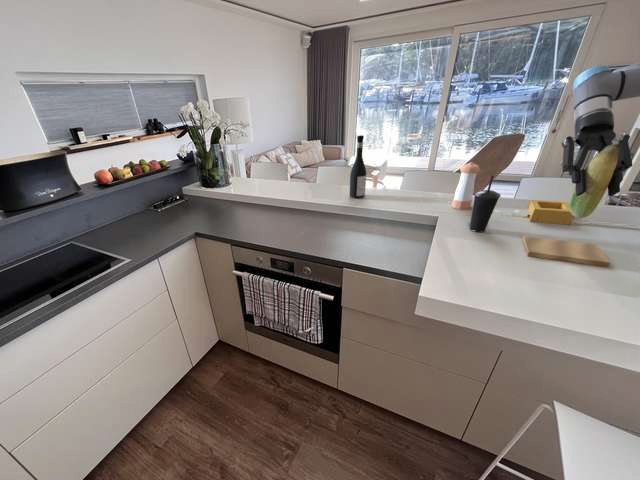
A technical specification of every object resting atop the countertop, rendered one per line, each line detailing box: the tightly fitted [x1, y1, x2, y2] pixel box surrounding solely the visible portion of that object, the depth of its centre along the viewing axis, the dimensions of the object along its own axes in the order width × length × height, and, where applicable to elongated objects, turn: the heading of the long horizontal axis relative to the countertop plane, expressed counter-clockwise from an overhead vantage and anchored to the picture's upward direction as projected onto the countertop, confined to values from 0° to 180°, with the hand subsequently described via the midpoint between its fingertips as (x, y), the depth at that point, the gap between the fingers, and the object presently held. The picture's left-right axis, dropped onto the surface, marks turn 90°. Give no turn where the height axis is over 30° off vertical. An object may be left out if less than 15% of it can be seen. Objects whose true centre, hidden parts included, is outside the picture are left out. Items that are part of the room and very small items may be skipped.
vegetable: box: [569, 143, 619, 219], centre depth 78 cm, size 6×6×20 cm
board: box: [522, 236, 611, 268], centre depth 89 cm, size 18×12×2 cm, turn 60°
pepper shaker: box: [451, 161, 481, 210], centre depth 123 cm, size 7×7×19 cm
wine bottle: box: [349, 135, 367, 199], centre depth 145 cm, size 8×8×30 cm
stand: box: [526, 199, 575, 226], centre depth 110 cm, size 12×12×5 cm
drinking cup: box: [469, 175, 501, 232], centre depth 102 cm, size 8×8×20 cm
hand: (597, 193), depth 76 cm, fingers closed on vegetable, 6 cm apart
